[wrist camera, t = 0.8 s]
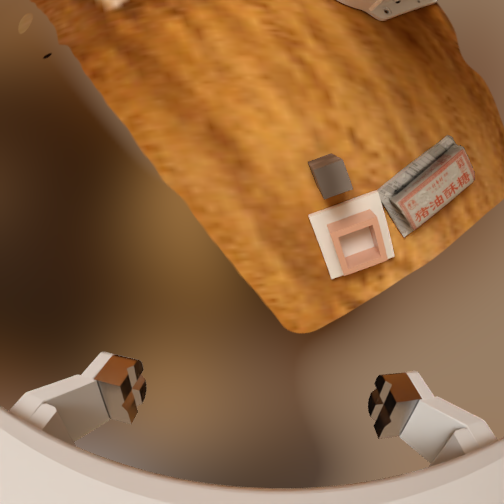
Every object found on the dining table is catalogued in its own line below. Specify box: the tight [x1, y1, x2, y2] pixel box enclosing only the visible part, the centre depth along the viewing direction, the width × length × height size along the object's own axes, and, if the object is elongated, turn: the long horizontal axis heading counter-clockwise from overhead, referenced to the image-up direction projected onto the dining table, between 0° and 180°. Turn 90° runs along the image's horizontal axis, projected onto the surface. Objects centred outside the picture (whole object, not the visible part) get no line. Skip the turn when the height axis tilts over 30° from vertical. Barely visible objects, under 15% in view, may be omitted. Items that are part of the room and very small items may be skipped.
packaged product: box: [377, 135, 475, 238], centre depth 39 cm, size 18×5×10 cm
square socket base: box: [308, 190, 394, 279], centre depth 44 cm, size 12×12×5 cm
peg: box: [308, 153, 353, 199], centre depth 38 cm, size 4×4×9 cm
